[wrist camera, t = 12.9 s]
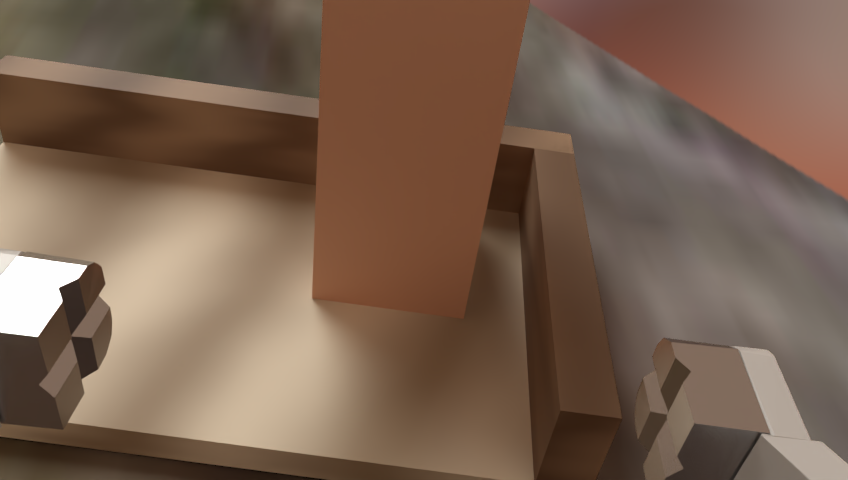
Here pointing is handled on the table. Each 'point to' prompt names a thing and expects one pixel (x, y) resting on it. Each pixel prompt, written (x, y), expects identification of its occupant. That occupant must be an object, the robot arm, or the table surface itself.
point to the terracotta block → (409, 146)
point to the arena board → (297, 293)
